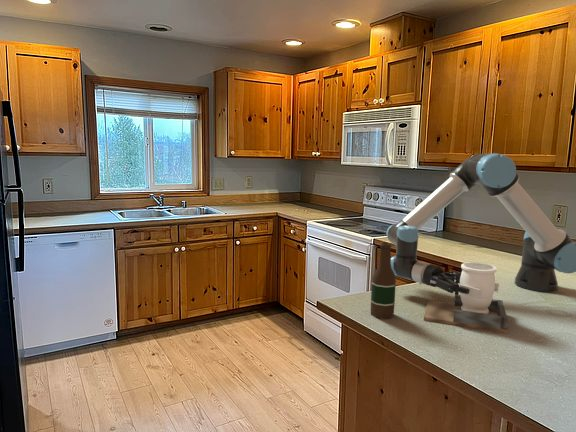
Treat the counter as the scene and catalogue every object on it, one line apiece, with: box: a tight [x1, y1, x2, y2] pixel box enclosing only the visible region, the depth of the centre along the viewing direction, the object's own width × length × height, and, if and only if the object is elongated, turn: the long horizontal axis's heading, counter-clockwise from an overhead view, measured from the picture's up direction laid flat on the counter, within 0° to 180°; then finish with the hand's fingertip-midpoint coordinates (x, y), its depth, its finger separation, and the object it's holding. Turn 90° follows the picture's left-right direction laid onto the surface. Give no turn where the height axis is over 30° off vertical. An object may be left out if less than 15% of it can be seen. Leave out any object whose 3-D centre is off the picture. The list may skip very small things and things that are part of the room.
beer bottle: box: [370, 242, 397, 320], centre depth 137 cm, size 8×8×24 cm
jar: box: [459, 262, 497, 314], centre depth 135 cm, size 11×10×15 cm
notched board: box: [423, 294, 509, 334], centre depth 138 cm, size 24×17×4 cm
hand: (489, 290), depth 132 cm, fingers closed on jar, 10 cm apart
